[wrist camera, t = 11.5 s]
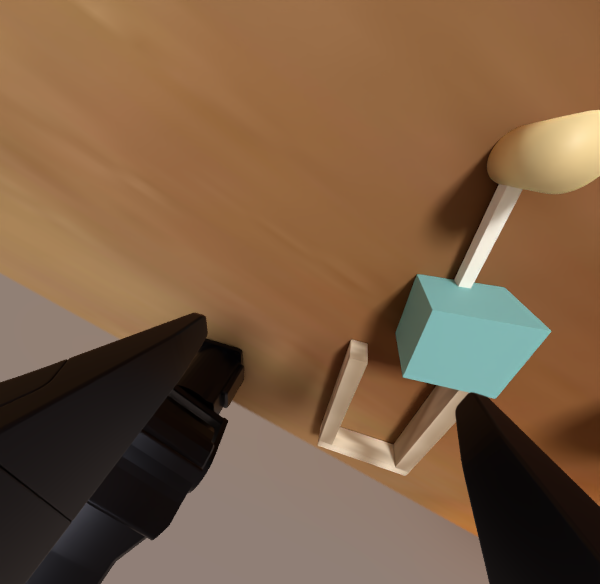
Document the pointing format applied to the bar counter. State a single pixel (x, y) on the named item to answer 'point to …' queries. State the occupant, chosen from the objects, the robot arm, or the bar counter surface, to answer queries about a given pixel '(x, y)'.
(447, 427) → the u-shaped wooden stand
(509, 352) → the teal knobbed plunger
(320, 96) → the bar counter surface
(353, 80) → the bar counter surface
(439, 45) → the bar counter surface
